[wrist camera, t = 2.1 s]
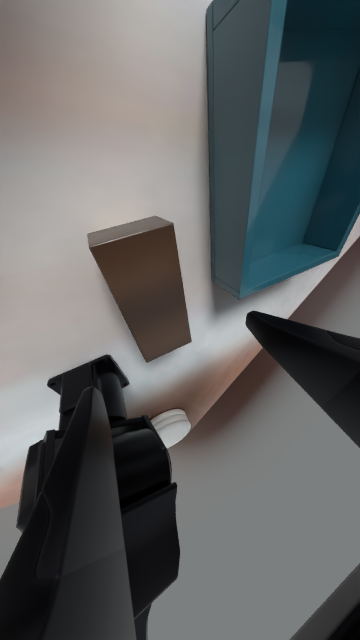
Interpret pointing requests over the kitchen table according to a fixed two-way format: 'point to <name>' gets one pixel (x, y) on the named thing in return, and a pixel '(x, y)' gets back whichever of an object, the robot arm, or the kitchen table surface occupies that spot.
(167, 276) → the tall brown box
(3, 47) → the kitchen table surface
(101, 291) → the kitchen table surface
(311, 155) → the open box
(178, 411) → the coaster
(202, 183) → the kitchen table surface
